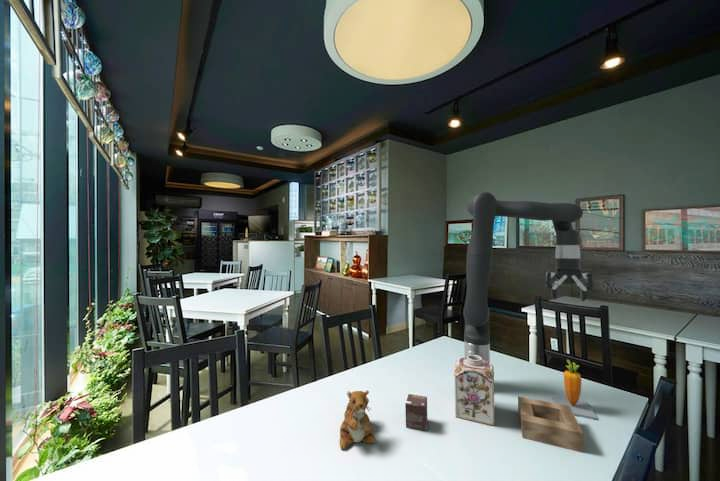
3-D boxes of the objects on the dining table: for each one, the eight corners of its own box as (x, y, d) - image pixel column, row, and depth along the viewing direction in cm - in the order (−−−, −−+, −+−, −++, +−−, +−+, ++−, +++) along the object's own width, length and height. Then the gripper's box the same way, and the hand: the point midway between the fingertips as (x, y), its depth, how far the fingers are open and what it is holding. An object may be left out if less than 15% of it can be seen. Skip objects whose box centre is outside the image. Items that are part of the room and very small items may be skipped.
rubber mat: (558, 412, 93) (558, 410, 93) (552, 397, 102) (552, 395, 102) (597, 419, 88) (597, 417, 88) (587, 403, 97) (587, 401, 97)
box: (427, 419, 89) (427, 396, 89) (425, 431, 83) (425, 406, 84) (408, 416, 91) (408, 393, 91) (405, 427, 85) (405, 403, 86)
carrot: (585, 411, 92) (584, 365, 92) (568, 409, 93) (567, 363, 93) (576, 402, 97) (576, 358, 97) (560, 401, 98) (560, 357, 98)
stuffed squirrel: (340, 452, 75) (339, 402, 76) (337, 420, 89) (337, 378, 90) (376, 448, 77) (376, 399, 77) (368, 417, 91) (368, 376, 91)
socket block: (522, 437, 80) (522, 419, 81) (518, 411, 93) (518, 396, 93) (583, 452, 75) (582, 433, 75) (570, 422, 87) (569, 406, 87)
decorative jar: (494, 407, 96) (493, 353, 96) (495, 427, 85) (494, 367, 86) (457, 399, 101) (457, 348, 101) (453, 417, 90) (453, 360, 91)
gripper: (547, 257, 107) (548, 300, 106) (594, 257, 101) (595, 303, 100) (543, 256, 113) (544, 297, 113) (588, 256, 107) (589, 299, 107)
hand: (568, 300), depth 107 cm, fingers open, 8 cm apart
